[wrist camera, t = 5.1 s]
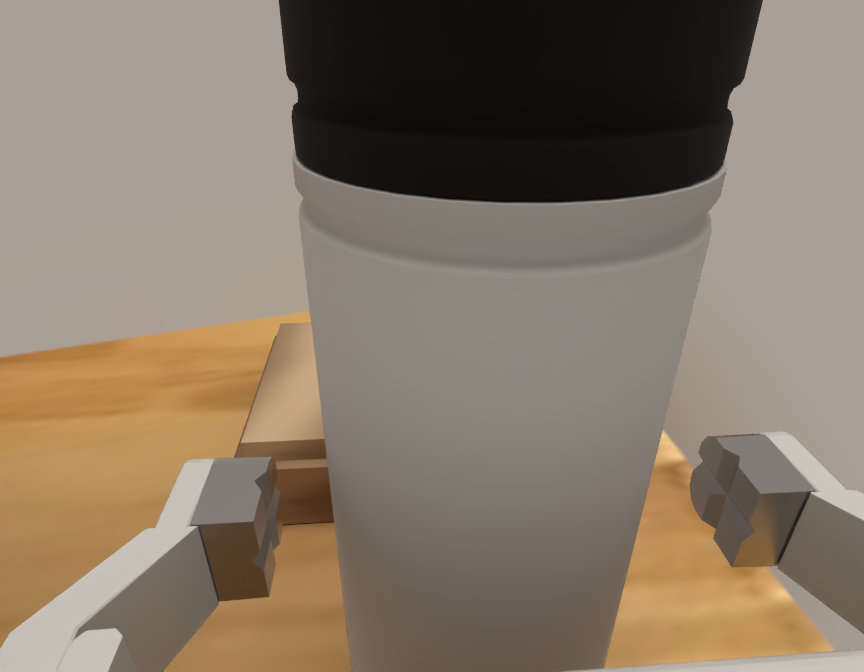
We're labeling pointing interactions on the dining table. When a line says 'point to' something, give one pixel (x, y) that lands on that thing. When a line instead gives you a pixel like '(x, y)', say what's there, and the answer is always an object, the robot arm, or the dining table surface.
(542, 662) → the travel mug
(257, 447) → the plinth
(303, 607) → the dining table surface
